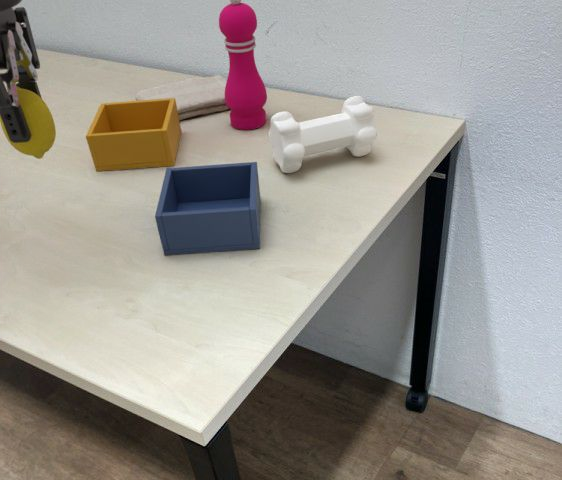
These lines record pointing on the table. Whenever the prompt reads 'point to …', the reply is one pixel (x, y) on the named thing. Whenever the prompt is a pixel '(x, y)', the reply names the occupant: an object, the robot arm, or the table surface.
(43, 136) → the lemon
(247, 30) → the pepper mill
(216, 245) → the blue bin
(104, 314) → the table surface
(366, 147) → the white bone
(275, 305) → the table surface
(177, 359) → the table surface
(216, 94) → the washcloth
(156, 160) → the ochre bin
